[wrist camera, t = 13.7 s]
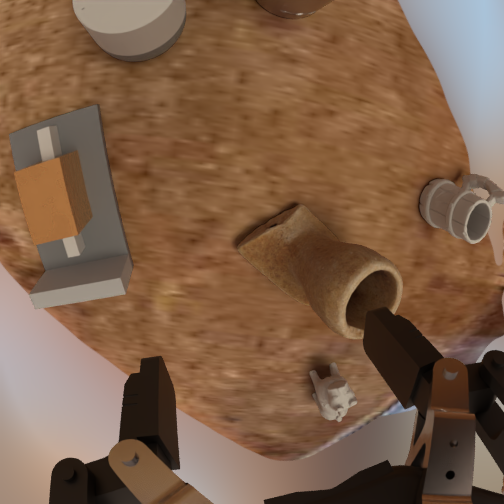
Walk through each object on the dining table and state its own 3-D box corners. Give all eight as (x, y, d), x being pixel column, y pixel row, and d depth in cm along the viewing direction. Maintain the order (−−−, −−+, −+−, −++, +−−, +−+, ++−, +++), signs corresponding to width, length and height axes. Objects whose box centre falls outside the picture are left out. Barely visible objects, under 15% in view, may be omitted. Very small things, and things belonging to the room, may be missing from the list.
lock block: (37, 162, 30) (13, 172, 25) (77, 150, 31) (59, 157, 26) (52, 226, 34) (34, 245, 28) (92, 216, 34) (78, 235, 29)
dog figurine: (334, 346, 52) (362, 389, 42) (338, 391, 57) (360, 431, 48) (305, 356, 51) (328, 403, 42) (312, 400, 57) (332, 443, 47)
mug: (410, 198, 43) (466, 226, 32) (456, 152, 42) (513, 169, 31) (427, 233, 46) (478, 265, 36) (470, 188, 45) (522, 211, 34)
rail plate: (12, 133, 29) (-17, 139, 22) (99, 104, 30) (80, 102, 24) (53, 280, 37) (35, 309, 31) (133, 265, 39) (125, 294, 33)
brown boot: (364, 252, 45) (426, 307, 32) (304, 308, 47) (346, 378, 33) (302, 175, 39) (363, 212, 25) (232, 242, 40) (258, 310, 27)
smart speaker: (118, 79, 30) (81, 60, 17) (93, 16, 26) (50, -27, 13) (197, 44, 30) (206, 5, 17) (170, -18, 26) (166, -78, 13)
